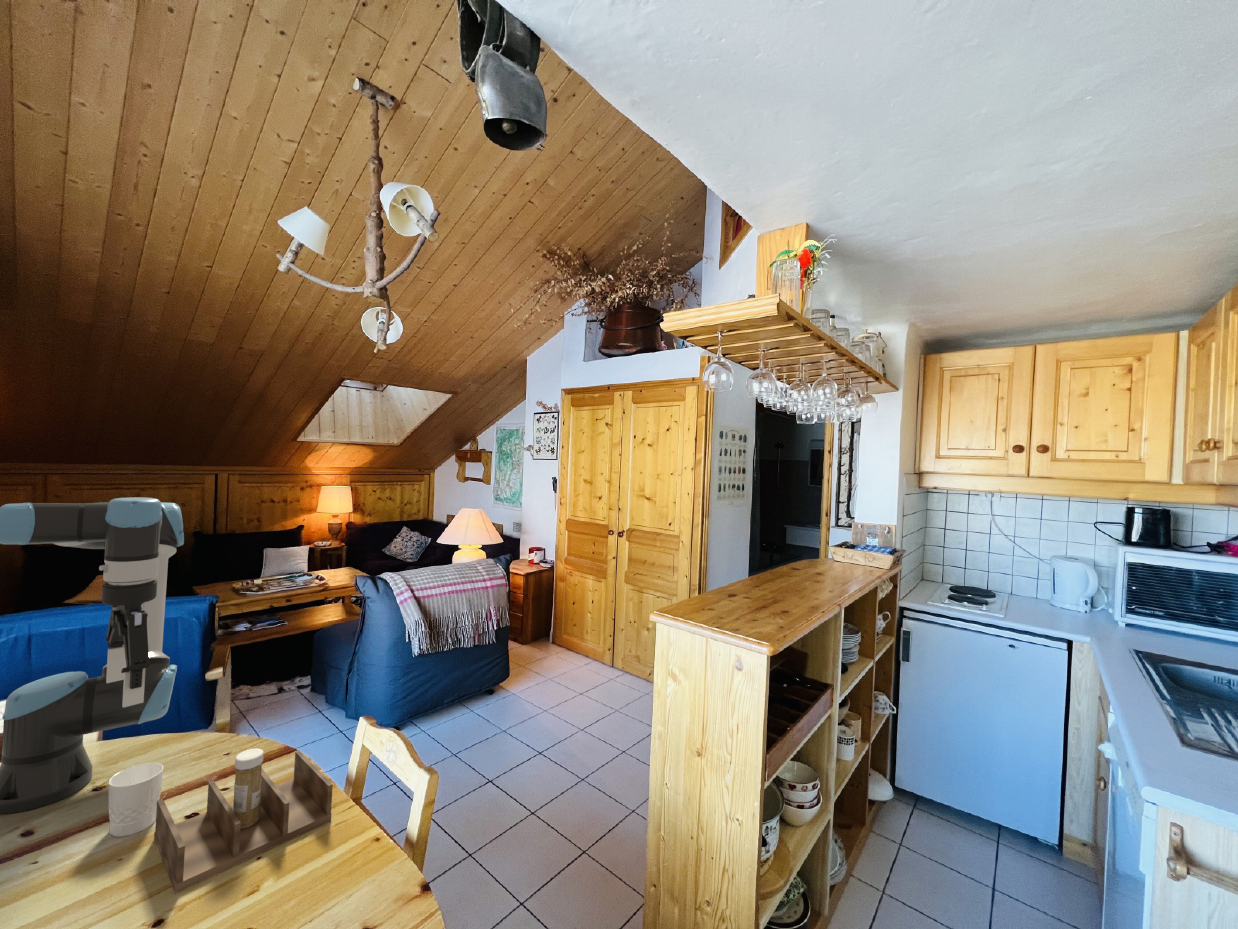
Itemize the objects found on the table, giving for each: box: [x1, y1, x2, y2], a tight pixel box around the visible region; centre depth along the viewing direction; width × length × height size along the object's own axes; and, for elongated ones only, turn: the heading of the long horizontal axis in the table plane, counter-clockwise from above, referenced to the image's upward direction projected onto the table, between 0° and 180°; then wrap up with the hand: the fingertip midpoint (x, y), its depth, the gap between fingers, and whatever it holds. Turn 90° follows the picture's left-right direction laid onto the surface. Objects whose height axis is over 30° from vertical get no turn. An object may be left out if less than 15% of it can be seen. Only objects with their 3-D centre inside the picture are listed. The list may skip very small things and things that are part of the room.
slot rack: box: [153, 750, 334, 895], centre depth 101 cm, size 18×24×8 cm
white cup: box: [107, 762, 164, 837], centre depth 101 cm, size 8×8×10 cm
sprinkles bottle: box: [233, 748, 265, 829], centre depth 101 cm, size 5×5×13 cm
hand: (124, 692), depth 97 cm, fingers open, 13 cm apart
